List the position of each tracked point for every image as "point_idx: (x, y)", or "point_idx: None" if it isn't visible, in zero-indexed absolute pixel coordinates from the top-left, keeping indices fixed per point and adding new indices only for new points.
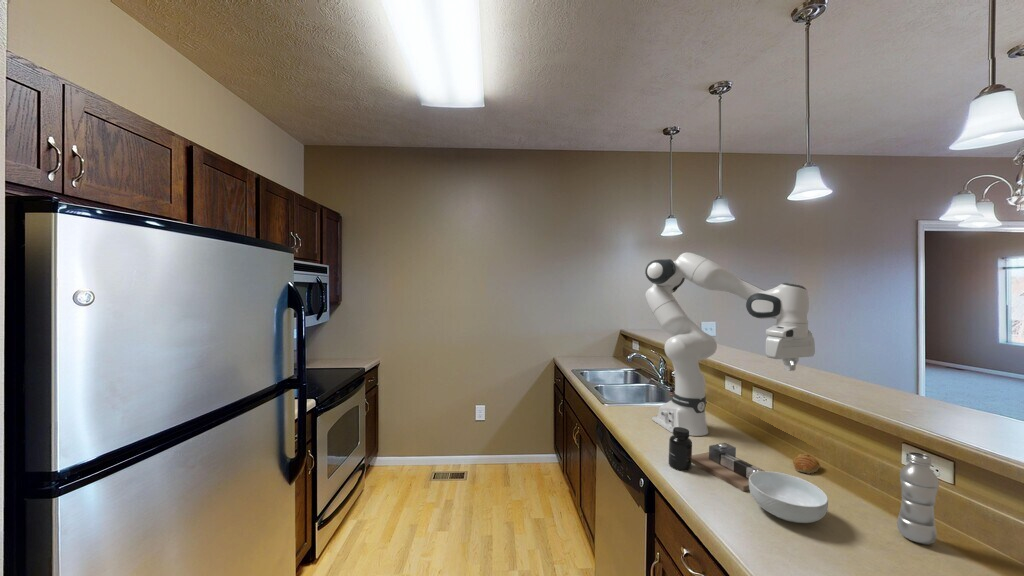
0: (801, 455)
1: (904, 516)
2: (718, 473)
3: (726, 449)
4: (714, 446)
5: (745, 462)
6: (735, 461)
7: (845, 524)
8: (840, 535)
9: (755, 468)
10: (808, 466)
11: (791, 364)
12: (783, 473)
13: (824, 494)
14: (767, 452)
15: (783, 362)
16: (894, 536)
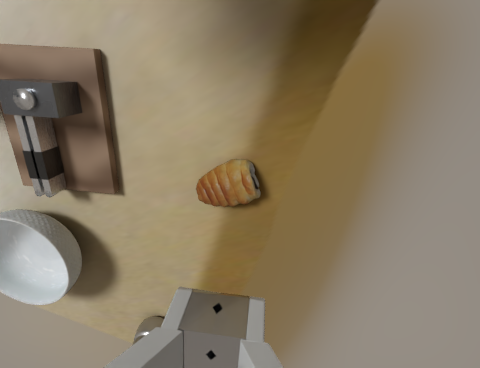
0: (241, 174)
1: (133, 342)
2: (9, 133)
3: (26, 115)
4: (5, 89)
5: (43, 165)
6: (24, 153)
7: (108, 281)
8: (79, 286)
9: (46, 188)
10: (207, 202)
11: (240, 362)
12: (50, 243)
13: (59, 296)
14: (231, 95)
15: (123, 352)
16: (141, 312)
